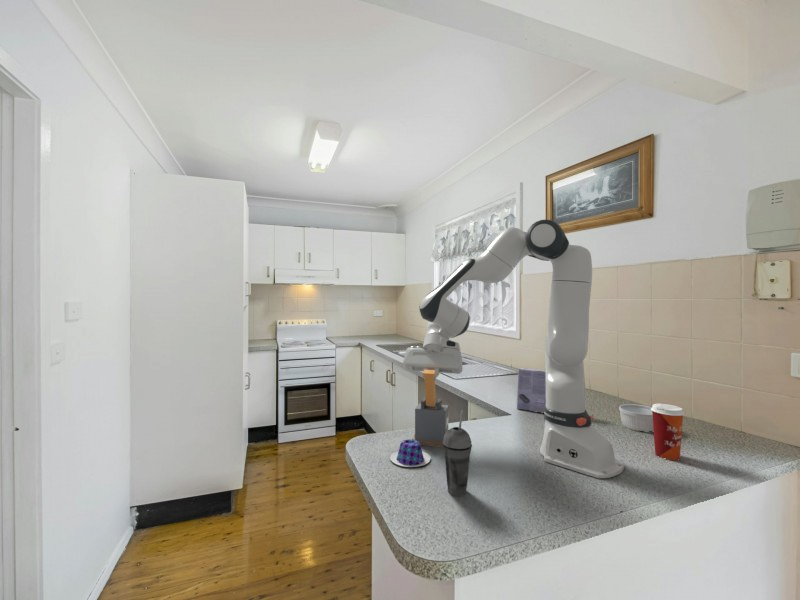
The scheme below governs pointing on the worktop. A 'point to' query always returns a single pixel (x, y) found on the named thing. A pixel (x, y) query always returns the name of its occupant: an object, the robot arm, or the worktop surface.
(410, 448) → the pudding
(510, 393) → the worktop surface
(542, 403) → the cake pan box
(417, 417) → the box
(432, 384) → the lever
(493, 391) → the worktop surface
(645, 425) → the ramekin
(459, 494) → the beverage cup
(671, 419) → the coffee cup
